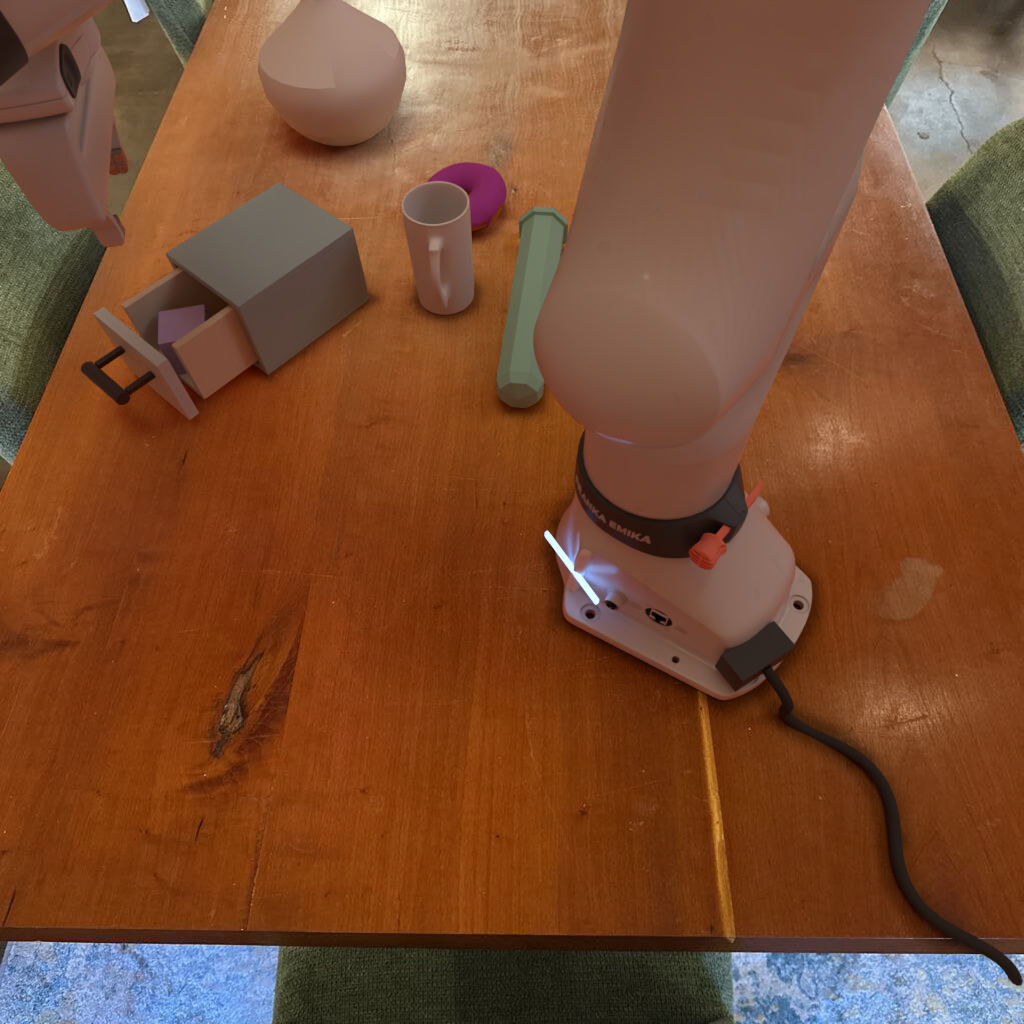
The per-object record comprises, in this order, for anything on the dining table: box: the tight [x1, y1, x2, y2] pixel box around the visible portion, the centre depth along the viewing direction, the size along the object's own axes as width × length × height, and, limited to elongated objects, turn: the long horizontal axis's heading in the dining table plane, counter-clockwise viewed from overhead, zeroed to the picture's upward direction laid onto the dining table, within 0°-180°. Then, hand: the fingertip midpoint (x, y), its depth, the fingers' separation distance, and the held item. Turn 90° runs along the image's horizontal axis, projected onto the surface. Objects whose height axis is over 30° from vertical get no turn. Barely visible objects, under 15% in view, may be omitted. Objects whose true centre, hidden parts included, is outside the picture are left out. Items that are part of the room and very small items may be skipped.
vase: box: [257, 0, 407, 147], centre depth 94 cm, size 18×18×19 cm
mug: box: [400, 181, 475, 316], centre depth 79 cm, size 10×7×12 cm, turn 179°
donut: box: [426, 161, 508, 233], centre depth 90 cm, size 10×10×5 cm
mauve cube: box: [158, 304, 211, 375], centre depth 77 cm, size 4×4×4 cm
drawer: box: [80, 267, 258, 421], centre depth 76 cm, size 18×10×8 cm, turn 139°
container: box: [495, 205, 569, 409], centre depth 80 cm, size 6×6×25 cm
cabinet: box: [165, 181, 370, 376], centre depth 80 cm, size 15×12×10 cm
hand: (117, 203), depth 63 cm, fingers open, 8 cm apart
